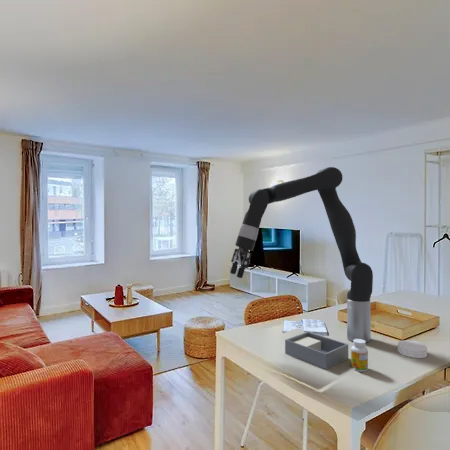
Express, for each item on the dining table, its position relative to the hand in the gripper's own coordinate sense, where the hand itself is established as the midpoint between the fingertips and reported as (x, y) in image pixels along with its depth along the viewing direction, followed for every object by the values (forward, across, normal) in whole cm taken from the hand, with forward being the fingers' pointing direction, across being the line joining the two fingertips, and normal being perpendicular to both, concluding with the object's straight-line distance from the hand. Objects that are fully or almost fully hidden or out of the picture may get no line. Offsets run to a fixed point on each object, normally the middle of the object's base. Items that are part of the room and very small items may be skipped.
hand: (235, 275), depth 138 cm
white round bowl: (+9, -26, -69) cm, 74 cm away
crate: (+20, -20, -33) cm, 43 cm away
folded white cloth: (+17, +13, -46) cm, 51 cm away
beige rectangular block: (+20, -15, -31) cm, 40 cm away
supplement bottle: (+17, -32, -42) cm, 55 cm away
